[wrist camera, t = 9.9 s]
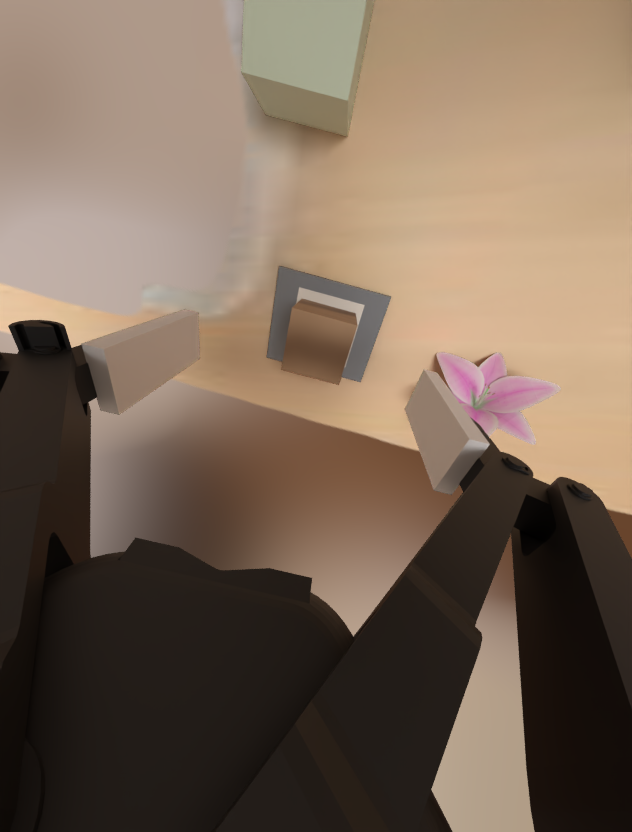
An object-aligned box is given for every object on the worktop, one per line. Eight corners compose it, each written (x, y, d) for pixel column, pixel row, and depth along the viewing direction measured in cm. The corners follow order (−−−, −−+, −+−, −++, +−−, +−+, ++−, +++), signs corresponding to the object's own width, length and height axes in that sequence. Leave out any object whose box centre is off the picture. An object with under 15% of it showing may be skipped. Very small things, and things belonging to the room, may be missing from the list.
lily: (537, 375, 31) (602, 363, 22) (489, 460, 33) (531, 483, 24) (440, 339, 34) (461, 315, 25) (400, 420, 36) (406, 426, 26)
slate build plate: (280, 265, 27) (278, 266, 26) (390, 296, 27) (391, 297, 27) (267, 355, 32) (266, 357, 32) (360, 380, 33) (360, 382, 32)
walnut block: (301, 298, 28) (292, 307, 23) (355, 313, 28) (357, 325, 23) (291, 351, 31) (281, 369, 26) (340, 364, 31) (338, 384, 26)
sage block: (276, -31, 18) (248, -146, 13) (375, -3, 18) (386, -106, 13) (266, 115, 22) (241, 71, 16) (347, 137, 22) (347, 101, 17)
